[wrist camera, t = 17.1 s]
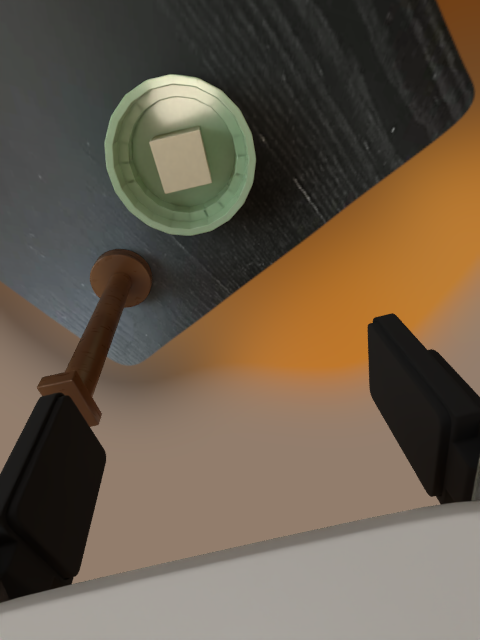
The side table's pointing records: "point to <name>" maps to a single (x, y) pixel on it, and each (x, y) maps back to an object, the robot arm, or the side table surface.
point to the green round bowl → (168, 116)
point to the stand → (101, 327)
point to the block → (181, 159)
